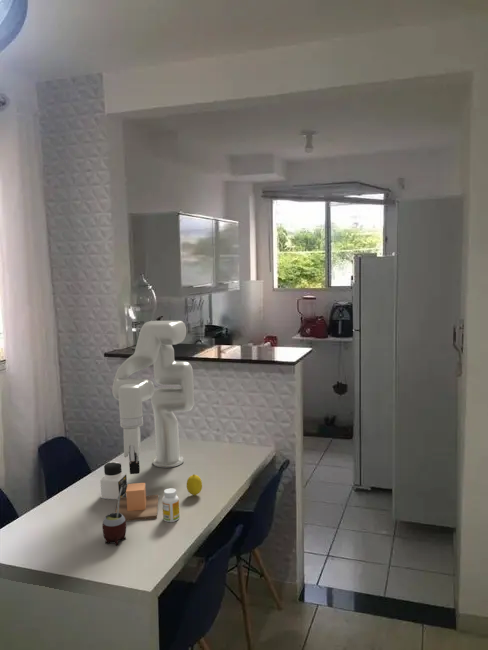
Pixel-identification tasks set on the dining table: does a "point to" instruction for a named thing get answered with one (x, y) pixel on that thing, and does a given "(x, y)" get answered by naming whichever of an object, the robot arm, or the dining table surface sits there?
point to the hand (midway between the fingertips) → (134, 472)
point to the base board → (148, 513)
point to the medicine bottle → (113, 481)
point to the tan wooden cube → (136, 496)
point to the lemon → (194, 484)
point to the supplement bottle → (170, 505)
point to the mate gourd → (114, 526)
